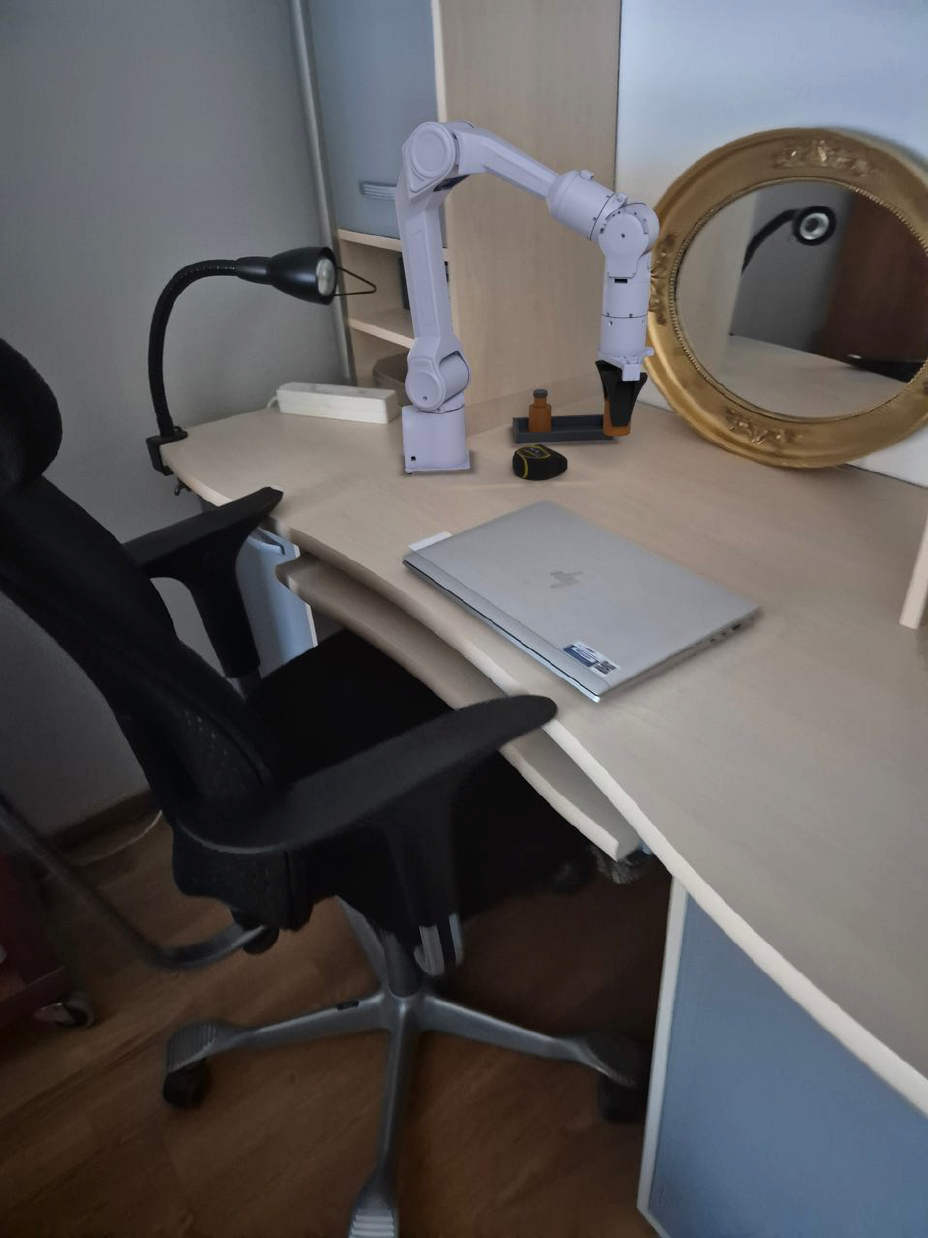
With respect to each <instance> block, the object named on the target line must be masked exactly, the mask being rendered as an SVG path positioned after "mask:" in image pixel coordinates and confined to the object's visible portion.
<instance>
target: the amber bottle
mask: <svg viewBox="0 0 928 1238" xmlns="http://www.w3.org/2000/svg"><path fill="white" fill-rule="evenodd" d="M603 414H604V422H603V433H604V434H606V435H608V436H613V438H614V437H616V438H619V437H626V436H628V435H630V434H631V429H632V428H631V427H632V418H631V419H630V422H629V424H628V426H619V427H613V426H612V424H611V419H610V410H609V399H608V397H606V398H605V402H604V404H603Z"/></svg>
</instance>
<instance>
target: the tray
mask: <svg viewBox="0 0 928 1238" xmlns="http://www.w3.org/2000/svg"><path fill="white" fill-rule="evenodd" d="M603 422H604V413H595V414H594V413H593V414H590V413H589V414H568V415H567V414H566V415H551V432H529V416H519V417H518V416H517V417H516V416H515V417H512V430H513V435H514V441H515V444H518V445H519V444H543V443H569V442H571V443H572V442H591V441H593V442H594V441H597V442H598V441H613V440H614V436H608V435H606V434H604V433H603Z"/></svg>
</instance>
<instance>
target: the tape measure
mask: <svg viewBox="0 0 928 1238" xmlns="http://www.w3.org/2000/svg"><path fill="white" fill-rule="evenodd" d="M568 461H569V460H568V458H567V457H566V456H565V455H563V454H562V453H560V452H558V451H556V450H554V449H552V448H551V447H548V446H546V445H544V444H543V443H536V444H534V445H523V446H521V447H519V448H518V449H517V448H516V450H515V451H514V453H513V456H512V461H511V465H512V470H513V472H514V474H515V475H516V476H518V477H520V478H522V479H526V480H530V481H545V480H550V479H552V478H554V477H556V476H558V475H561V474H563V473H565V472H566V471H567V470H568V467H569V466H568V464H569V462H568Z"/></svg>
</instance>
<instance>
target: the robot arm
mask: <svg viewBox="0 0 928 1238" xmlns="http://www.w3.org/2000/svg"><path fill="white" fill-rule="evenodd" d="M401 154H402V164H401V169H400V171H399V176H398V180H397V183H396V189H395V192H394V205H395V211H396V219H397V227H398V233H399V240H400V247H401V253H402V261H403V267H404V274H405V280H406V281H405V282H406V288H407V295H408V301H409V302H408V303H409V309H410V316H411V322H412V330H413V336H414V338H413V342H412V344H411V347H410V349H409V352H408V354H407V357H406V361H407V362H406V363H407V374H406V376H405V380H404V382H405V383H404V388H405V392H406V396H407V397H408V400H409V401H410V402H411V404H412V405H404V406H402V408H401V409H402V410H401V425H402V428H401V429H402V440H403V444H402V455H403V457H404V464H405V465H404V466H405V469H404V470H405V473H406V474H412V473H413V472H426V471H428V472H429V471H454V470H457V471H458V470H469V469H471V463H470V462H471V461H470V449H468V448H467V427H466V401H465V390H466V389H467V388H468V387H469V385H470V383H471V381H472V380H471V379H472V369H471V365H470V363H469V362H468V360H467V358H466V356H465V354H464V350H463V349H464V348H463V343H462V341H461V340H460V338H459V337H458V336H457V335H456V334H455V333H454V331H453V322H452V314H451V307H450V306H451V305H450V297H449V291H448V281H447V273H446V264H445V263H446V262H445V256H444V248H443V239H442V232H441V221H440V213H439V208H440V206H441V204H442V203H443V202H444V201H445V200H446V198H447V197H448V195H449V194H450V193H451V192H452V190H453V189H454V188H455V187H456V186H458V184H460V183H462V182H463V181H465V180H466V179H468V178H469V177H471V176H472V175H481V174H489V175H492V176H495V177H496V178H498V179H500V180H502V181H504V182H505V183H508V184H509V185H511V186H513V187H515V188H517V189H519V190H522V191H523V192H525V193H528V194H529V195H531V196H533V197H535V198H537V199H539V200H540V201H543V202H544V203H545V204H546V207H547V211H548V215H549V217H550V218H551V220H553V221H555V222H556V223H558V224H560V225H562V226H564V227H566V228H567V229H569V230H571V231H573V232H574V233H576V234H578V235H579V236H581V237H583V238H585V239H586V240H588V241H590V242H592V243H593V244H598V245H599V248H600V251H601V253H602V254H603V255H604V265H603V267H604V268H603V274H602V289H601V290H602V291H601V293H602V294H601V312H600V325H599V326H600V327H599V347H598V348H597V357H598V358H599V359H598V360H596V361H595V362H594V364H595V367H596V369H597V371H598V375H599V378H600V382H601V385H602V393H603V402H604V403H605V398H606V397H608V399H609V410H610V419H611V424H612V426H613V427H619V426H628V424H629V422H630V419H631V420H632V415H633V412H634V408H635V404H636V401H637V400H638V396H639V395H640V392H641V390H642V389H643V387H644V386H645V384H646V383H647V381H648V378H649V375H648V373H647V372H646V371H642V372H641V365H642V364H643V362H644V360H645V359H646V357H653V356H655V349H654V348H653V347H652V346H646V341H647V330H648V316H649V304H650V292H651V282H652V281H651V279H652V272H651V267H652V257H653V255H652V254H653V251H652V250H651V249H652V247H653V246H654V245H655V244H656V242H657V240H658V237H659V234H660V222H659V221H660V220H659V217H658V215H657V214H656V212H655V211H654V210H653V209H652V208H651V207H649V205H648V204H647V202H645V201H639V200H635V201H630V202H628V199H629V197H630V196H629V194H628V193H626V192H625V191H620V192H618V193H616V192H615V191H613V190H611V189H609V188H607V187H606V186H604V185H603V184H601V183H599V182H597V181H595V180H594V178H595V173H593V172H591V171H590V170H589V169H583V170H581V172H579V171H578V170H577V169H573V170H569V171H568V172H564V173H563V174H559V173H557V172H556V171H554V170H552V169H551V168H549V167H548V166H546V165H545V164H543V163H542V162H540V161H539V160H537V159H536V158H533V156H531V155H529V154H527V153H526V152H524V151H523V150H521V149H520V148H518V147H517V146H515V145H513V144H511V143H510V142H508V141H507V140H505V139H504V138H502V137H501V136H499V135H497V133H495V132H493V131H491V130H489V129H487V128H484V127H481V126H476V125H475V124H473V123H472V122H471V121H468V120H465V119H456V120H454V121H443V122H442V121H441V122H437V121H425V122H423V123H421V124H419V125H418V126H417V127H416V128H415V129H414V130H413V131H412V133H411V134H410V135H409V137H407V139H406V141H404V143H403V144H402V146H401Z"/></svg>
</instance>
